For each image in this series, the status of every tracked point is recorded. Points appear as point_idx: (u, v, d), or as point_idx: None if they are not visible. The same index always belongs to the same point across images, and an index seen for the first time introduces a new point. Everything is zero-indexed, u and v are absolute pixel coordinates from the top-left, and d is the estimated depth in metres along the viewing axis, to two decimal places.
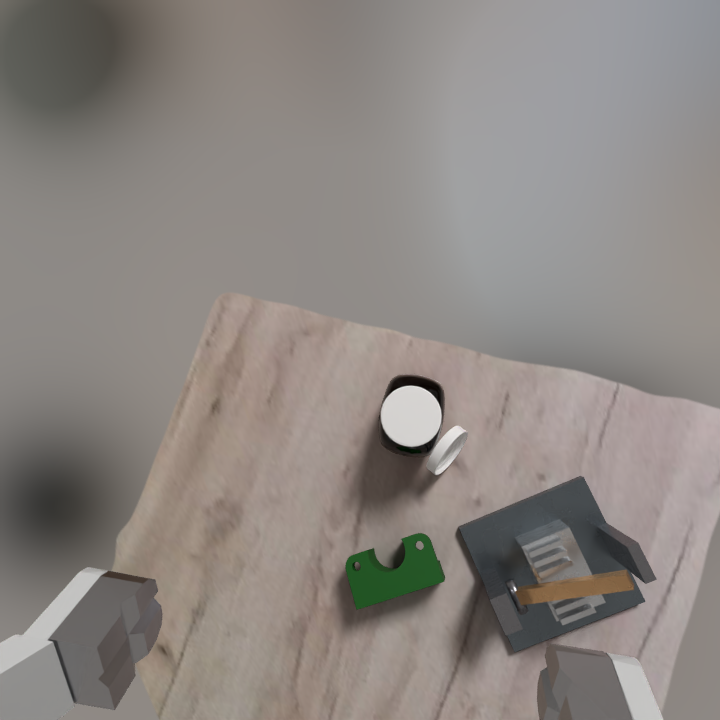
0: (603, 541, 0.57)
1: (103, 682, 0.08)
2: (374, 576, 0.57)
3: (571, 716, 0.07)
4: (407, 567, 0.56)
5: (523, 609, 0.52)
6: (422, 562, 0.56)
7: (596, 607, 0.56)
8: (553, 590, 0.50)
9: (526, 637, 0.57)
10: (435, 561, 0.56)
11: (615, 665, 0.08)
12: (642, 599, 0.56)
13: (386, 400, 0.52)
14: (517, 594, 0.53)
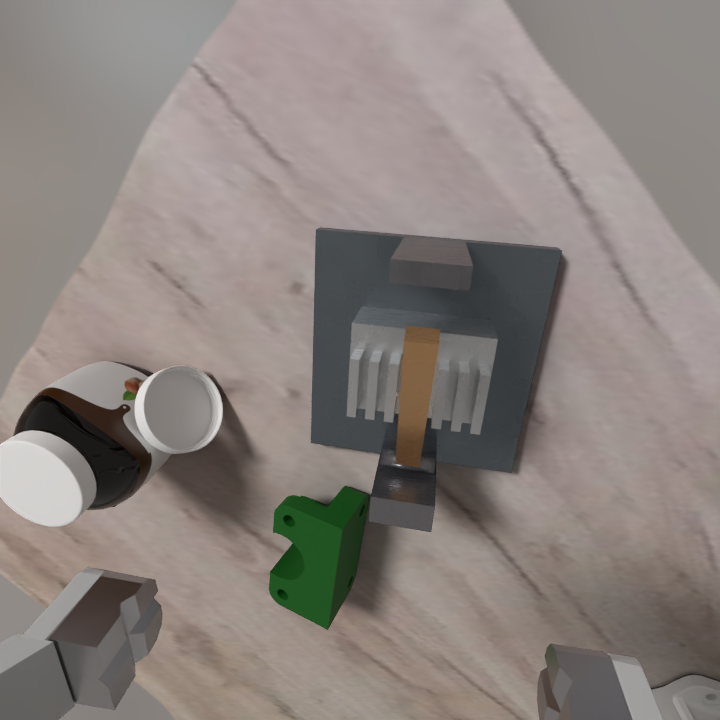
0: None
1: (103, 682, 0.08)
2: (300, 588, 0.39)
3: (571, 716, 0.07)
4: (307, 551, 0.37)
5: (427, 467, 0.30)
6: (309, 532, 0.36)
7: (522, 331, 0.31)
8: (406, 431, 0.27)
9: (501, 447, 0.35)
10: (315, 519, 0.35)
11: (615, 664, 0.08)
12: (555, 253, 0.29)
13: (5, 501, 0.31)
14: (400, 463, 0.30)
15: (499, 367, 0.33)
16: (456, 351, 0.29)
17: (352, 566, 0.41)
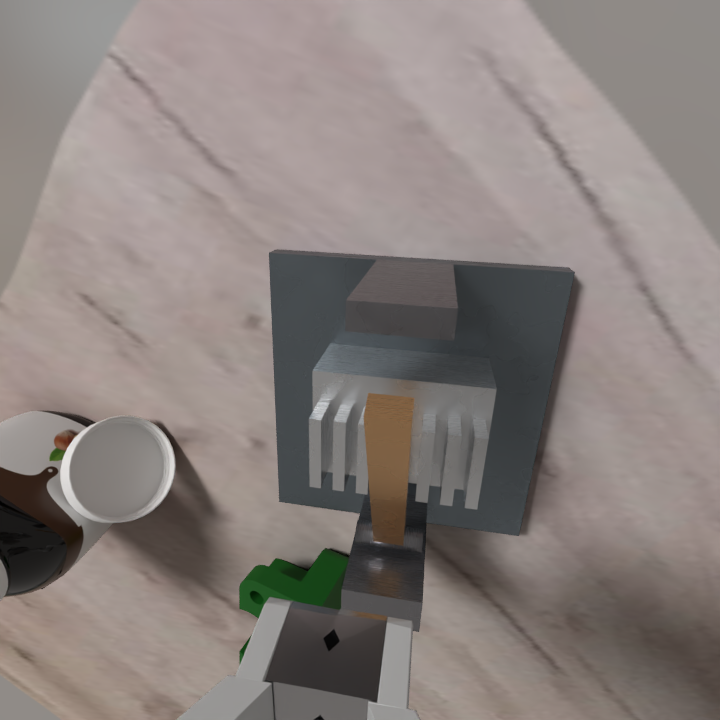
0: None
1: None
2: None
3: (325, 671, 0.08)
4: None
5: (413, 546, 0.24)
6: None
7: (527, 371, 0.25)
8: (382, 511, 0.21)
9: (506, 507, 0.29)
10: (286, 597, 0.30)
11: (388, 627, 0.09)
12: (566, 275, 0.23)
13: None
14: (379, 541, 0.24)
15: (500, 414, 0.27)
16: (444, 404, 0.23)
17: None
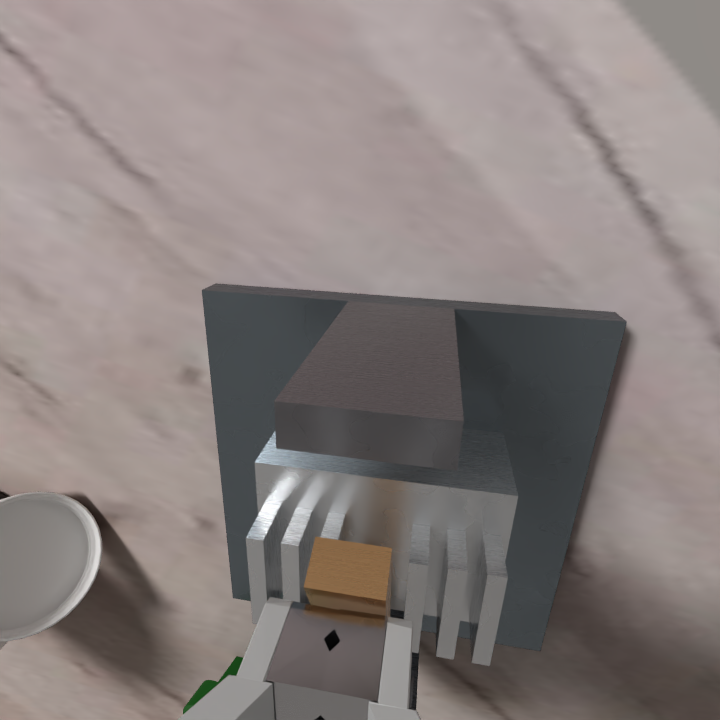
0: None
1: None
2: None
3: (325, 671, 0.08)
4: None
5: None
6: None
7: (555, 451, 0.19)
8: None
9: (524, 617, 0.22)
10: None
11: (388, 626, 0.09)
12: (615, 326, 0.16)
13: None
14: None
15: (518, 504, 0.20)
16: (442, 513, 0.16)
17: None
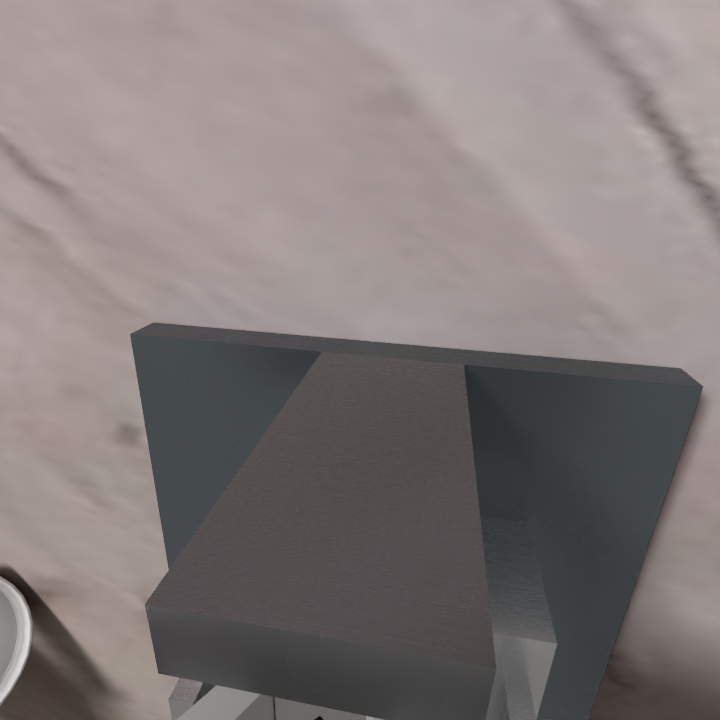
0: None
1: None
2: None
3: None
4: None
5: None
6: None
7: (596, 547, 0.14)
8: None
9: None
10: None
11: None
12: (686, 391, 0.12)
13: None
14: None
15: None
16: None
17: None
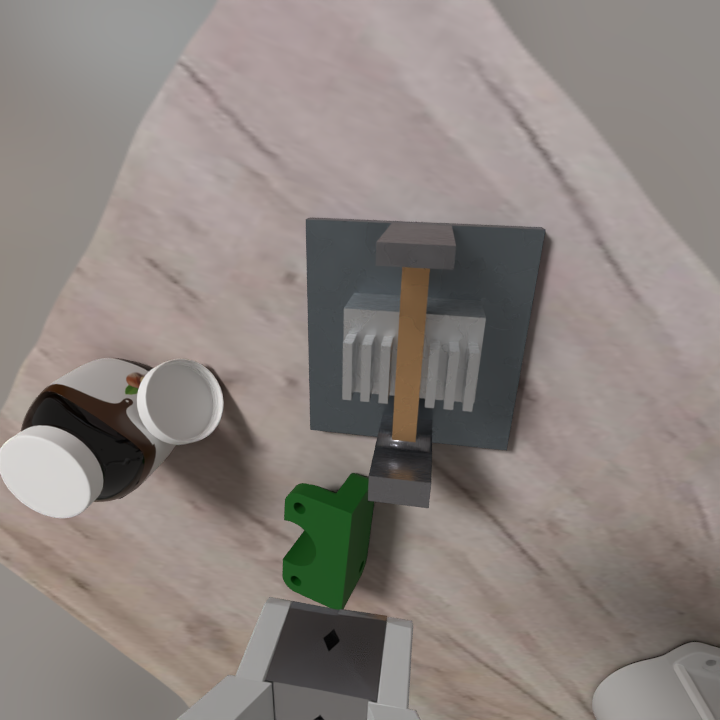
0: None
1: None
2: (313, 573, 0.40)
3: (325, 671, 0.08)
4: (318, 537, 0.38)
5: (423, 442, 0.31)
6: (319, 518, 0.37)
7: (510, 310, 0.32)
8: (403, 383, 0.30)
9: (496, 426, 0.36)
10: (324, 505, 0.36)
11: (387, 626, 0.09)
12: (539, 232, 0.30)
13: (15, 495, 0.32)
14: (397, 438, 0.31)
15: (490, 347, 0.33)
16: (446, 331, 0.29)
17: (362, 551, 0.42)
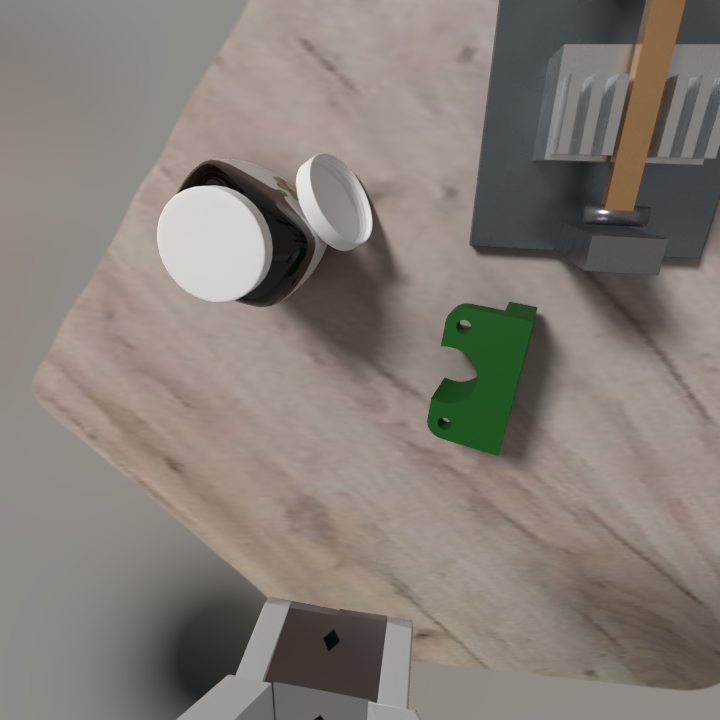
0: None
1: None
2: (469, 410, 0.36)
3: (325, 670, 0.08)
4: (483, 361, 0.34)
5: (642, 211, 0.27)
6: (489, 335, 0.33)
7: None
8: (632, 130, 0.26)
9: (692, 227, 0.32)
10: (498, 316, 0.33)
11: (388, 626, 0.09)
12: None
13: (171, 274, 0.28)
14: (611, 207, 0.28)
15: None
16: (685, 67, 0.26)
17: None
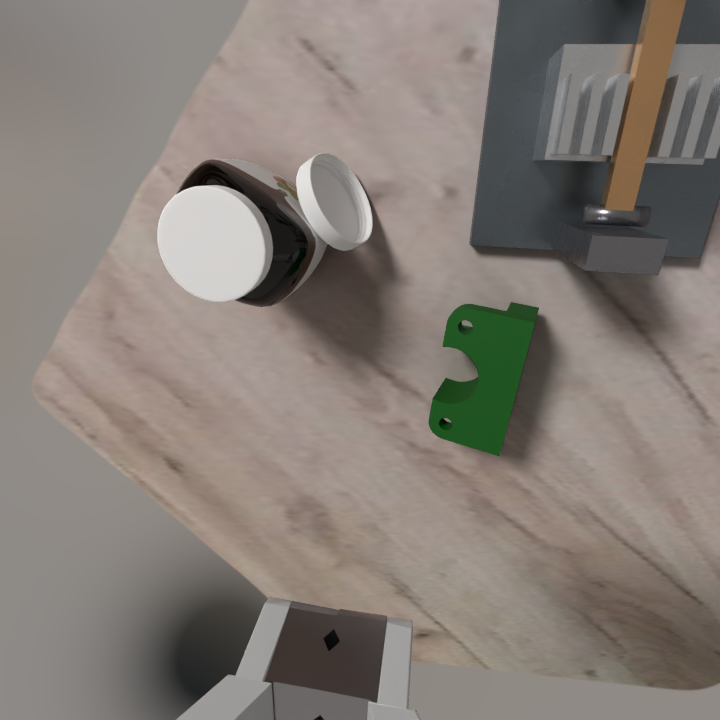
0: None
1: None
2: (470, 410, 0.36)
3: (325, 670, 0.08)
4: (484, 361, 0.34)
5: (642, 211, 0.27)
6: (490, 336, 0.33)
7: None
8: (633, 130, 0.26)
9: (692, 227, 0.32)
10: (500, 317, 0.33)
11: (388, 626, 0.09)
12: None
13: (172, 274, 0.28)
14: (612, 207, 0.28)
15: None
16: (685, 67, 0.26)
17: None
